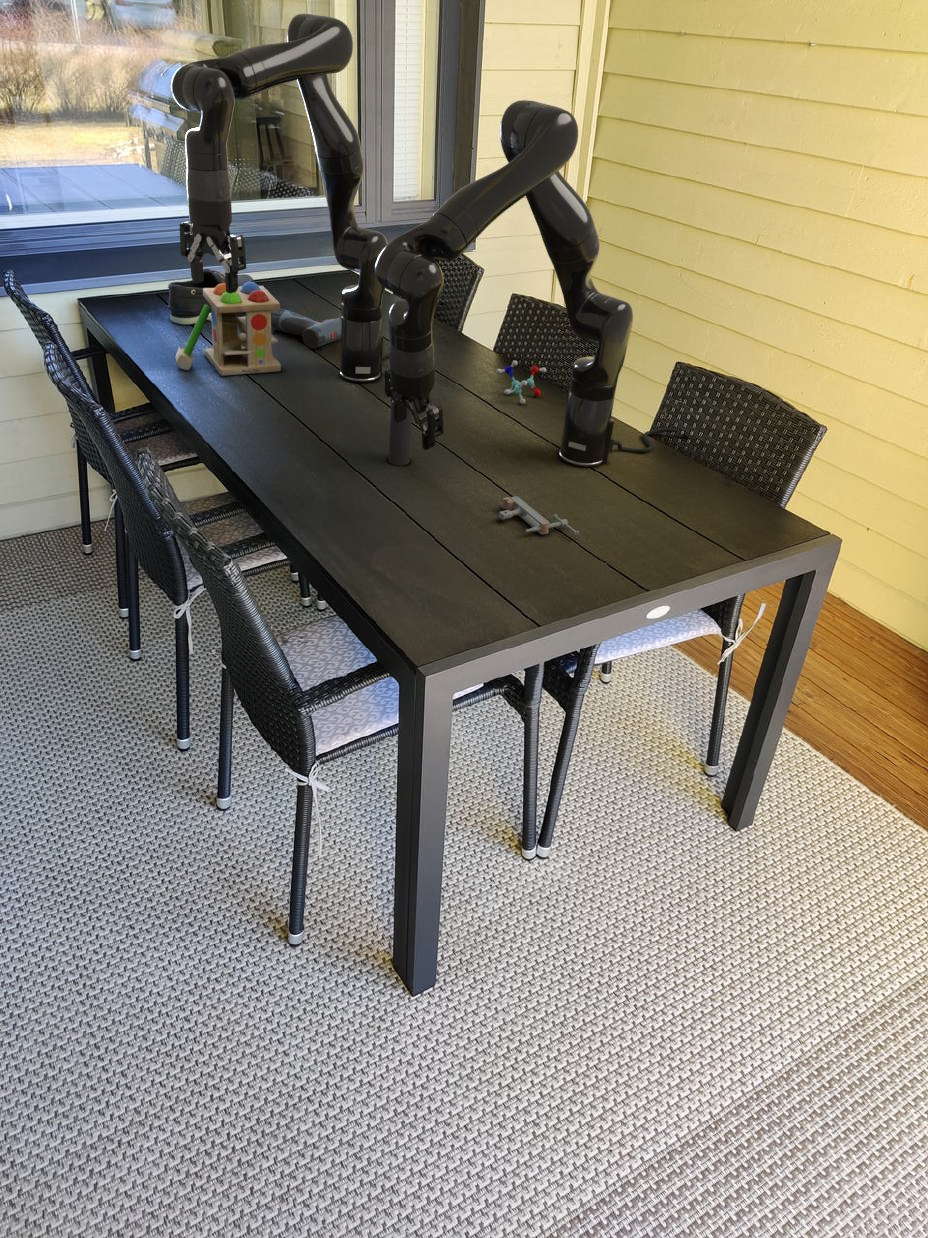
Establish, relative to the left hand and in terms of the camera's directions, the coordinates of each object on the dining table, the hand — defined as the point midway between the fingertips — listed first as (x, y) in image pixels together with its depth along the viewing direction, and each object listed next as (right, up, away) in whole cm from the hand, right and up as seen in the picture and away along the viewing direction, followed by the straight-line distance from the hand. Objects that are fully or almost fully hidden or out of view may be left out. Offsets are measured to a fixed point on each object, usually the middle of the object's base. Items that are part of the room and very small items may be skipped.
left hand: (214, 287), depth 183 cm
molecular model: (+59, -10, +46) cm, 76 cm away
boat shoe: (-20, +21, +81) cm, 86 cm away
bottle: (+34, -30, +13) cm, 47 cm away
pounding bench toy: (-9, -2, +47) cm, 48 cm away
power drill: (+7, +12, +70) cm, 72 cm away
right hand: (+38, -29, -9) cm, 49 cm away
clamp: (+59, -45, -5) cm, 74 cm away
